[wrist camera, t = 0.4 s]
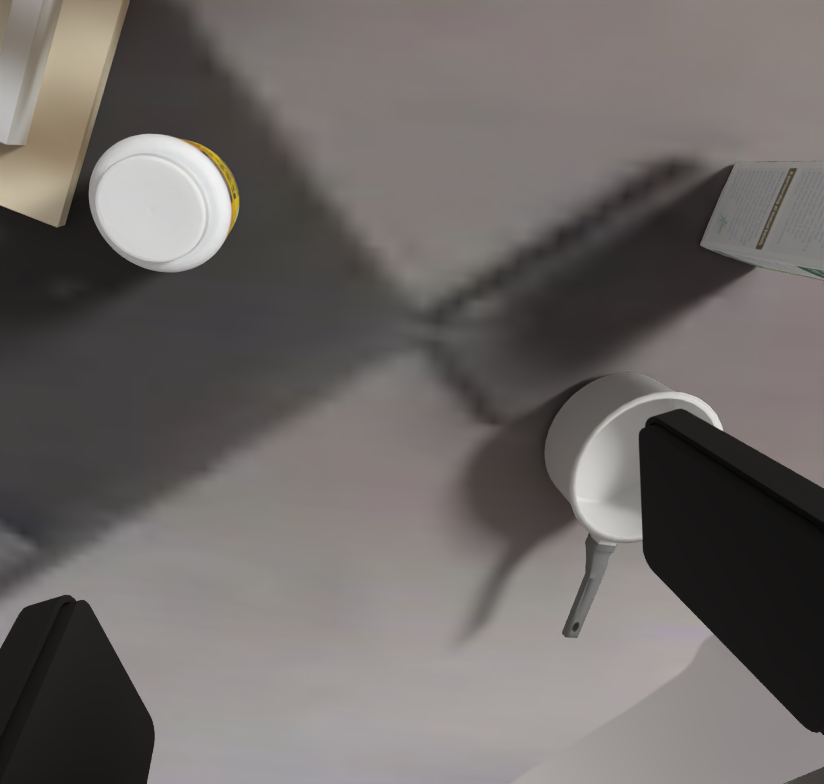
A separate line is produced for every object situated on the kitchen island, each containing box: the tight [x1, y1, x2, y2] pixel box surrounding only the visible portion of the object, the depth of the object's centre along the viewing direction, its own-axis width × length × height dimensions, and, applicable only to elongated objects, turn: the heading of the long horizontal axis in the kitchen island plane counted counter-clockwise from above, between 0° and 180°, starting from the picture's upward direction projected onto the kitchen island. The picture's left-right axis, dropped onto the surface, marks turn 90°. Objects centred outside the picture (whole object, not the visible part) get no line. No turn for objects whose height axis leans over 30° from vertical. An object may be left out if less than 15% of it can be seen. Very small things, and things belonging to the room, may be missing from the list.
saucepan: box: [544, 372, 723, 638], centre depth 42 cm, size 12×20×6 cm, turn 163°
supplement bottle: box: [89, 134, 239, 272], centre depth 26 cm, size 6×6×10 cm
